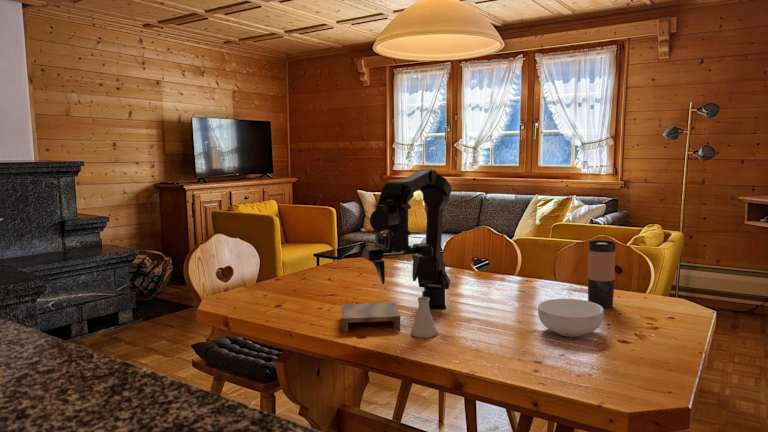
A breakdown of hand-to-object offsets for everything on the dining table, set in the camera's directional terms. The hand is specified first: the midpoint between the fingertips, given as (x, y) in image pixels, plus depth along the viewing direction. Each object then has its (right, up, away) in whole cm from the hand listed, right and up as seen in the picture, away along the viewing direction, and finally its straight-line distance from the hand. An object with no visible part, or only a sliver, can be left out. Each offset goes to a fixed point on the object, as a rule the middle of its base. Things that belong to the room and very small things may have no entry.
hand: (398, 282), depth 158 cm
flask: (+7, -14, -5) cm, 16 cm away
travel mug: (+63, -10, +19) cm, 67 cm away
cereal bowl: (+46, -13, -5) cm, 48 cm away
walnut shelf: (-8, -12, +5) cm, 16 cm away
